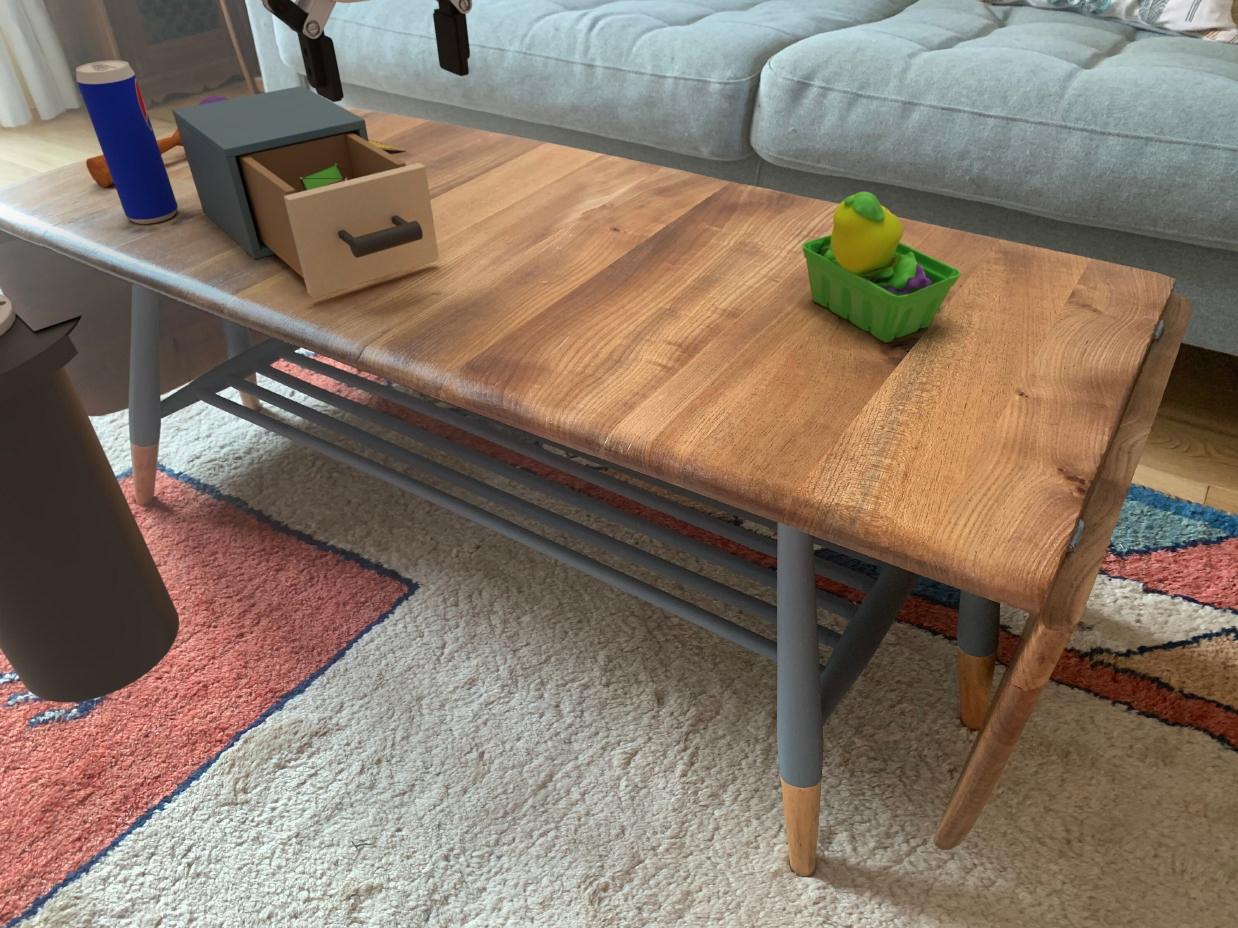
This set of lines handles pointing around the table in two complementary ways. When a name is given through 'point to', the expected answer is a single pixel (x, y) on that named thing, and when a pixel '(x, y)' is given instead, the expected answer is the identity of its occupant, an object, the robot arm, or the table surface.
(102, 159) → the kendama
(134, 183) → the beverage can
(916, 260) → the fruit basket
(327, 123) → the cabinet
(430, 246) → the drawer
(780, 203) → the table surface
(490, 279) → the table surface
